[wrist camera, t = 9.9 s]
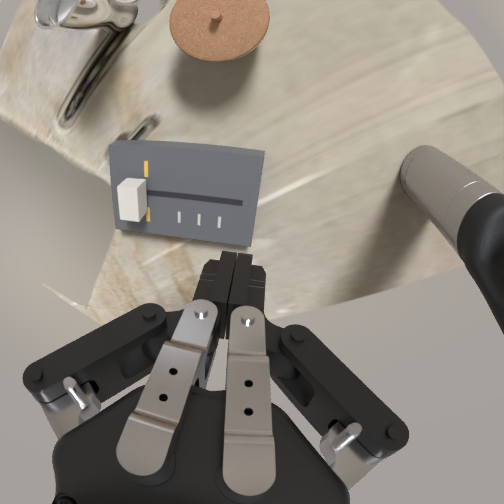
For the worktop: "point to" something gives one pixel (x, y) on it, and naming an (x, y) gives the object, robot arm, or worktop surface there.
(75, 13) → the beer glass
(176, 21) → the lidded jar
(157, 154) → the panel
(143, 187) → the fader knob
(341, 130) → the worktop surface
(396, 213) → the worktop surface
